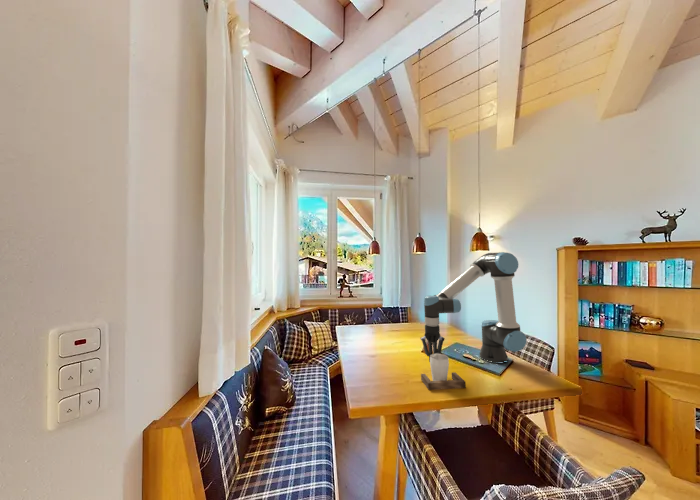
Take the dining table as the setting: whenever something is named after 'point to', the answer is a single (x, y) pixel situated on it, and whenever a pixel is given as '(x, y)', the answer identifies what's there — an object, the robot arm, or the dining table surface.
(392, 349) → the dining table surface
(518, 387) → the dining table surface
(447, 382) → the walnut pocket
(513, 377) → the dining table surface
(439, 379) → the cup
